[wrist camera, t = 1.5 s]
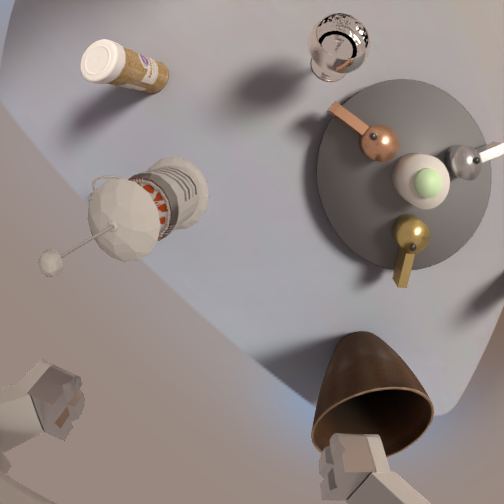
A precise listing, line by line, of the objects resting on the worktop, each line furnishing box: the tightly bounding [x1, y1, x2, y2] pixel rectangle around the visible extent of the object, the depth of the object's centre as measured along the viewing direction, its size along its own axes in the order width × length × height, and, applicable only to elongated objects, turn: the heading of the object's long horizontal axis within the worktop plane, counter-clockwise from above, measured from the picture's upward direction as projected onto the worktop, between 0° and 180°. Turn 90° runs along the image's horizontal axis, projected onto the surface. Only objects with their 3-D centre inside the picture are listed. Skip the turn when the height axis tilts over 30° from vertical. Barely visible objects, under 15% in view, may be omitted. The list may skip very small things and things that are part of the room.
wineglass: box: [308, 13, 370, 82], centre depth 27 cm, size 6×6×12 cm
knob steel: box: [445, 142, 504, 181], centre depth 30 cm, size 8×4×3 cm, turn 116°
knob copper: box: [327, 101, 399, 162], centre depth 31 cm, size 8×4×3 cm, turn 56°
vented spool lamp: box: [38, 157, 209, 277], centre depth 29 cm, size 10×12×25 cm
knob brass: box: [392, 214, 430, 288], centre depth 35 cm, size 8×4×3 cm, turn 176°
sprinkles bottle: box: [80, 39, 169, 93], centre depth 29 cm, size 5×5×14 cm
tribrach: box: [317, 79, 491, 270], centre depth 33 cm, size 24×24×7 cm
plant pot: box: [311, 332, 434, 457], centre depth 38 cm, size 15×15×16 cm
